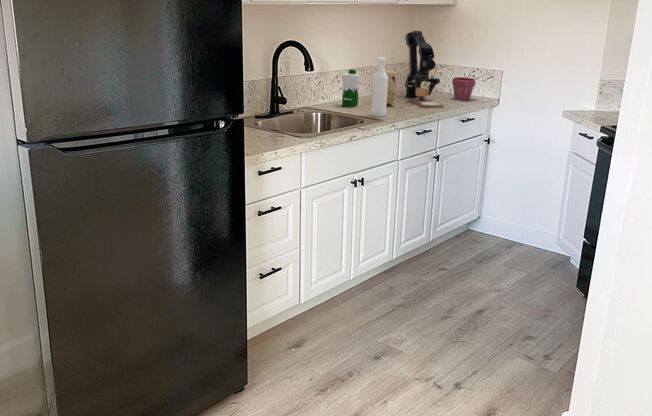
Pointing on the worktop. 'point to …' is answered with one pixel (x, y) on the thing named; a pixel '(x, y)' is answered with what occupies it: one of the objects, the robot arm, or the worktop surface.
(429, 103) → the post board
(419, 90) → the orange tan square block
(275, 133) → the worktop surface
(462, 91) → the plant pot
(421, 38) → the robot arm
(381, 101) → the bottle
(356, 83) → the milk carton
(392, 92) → the food model
